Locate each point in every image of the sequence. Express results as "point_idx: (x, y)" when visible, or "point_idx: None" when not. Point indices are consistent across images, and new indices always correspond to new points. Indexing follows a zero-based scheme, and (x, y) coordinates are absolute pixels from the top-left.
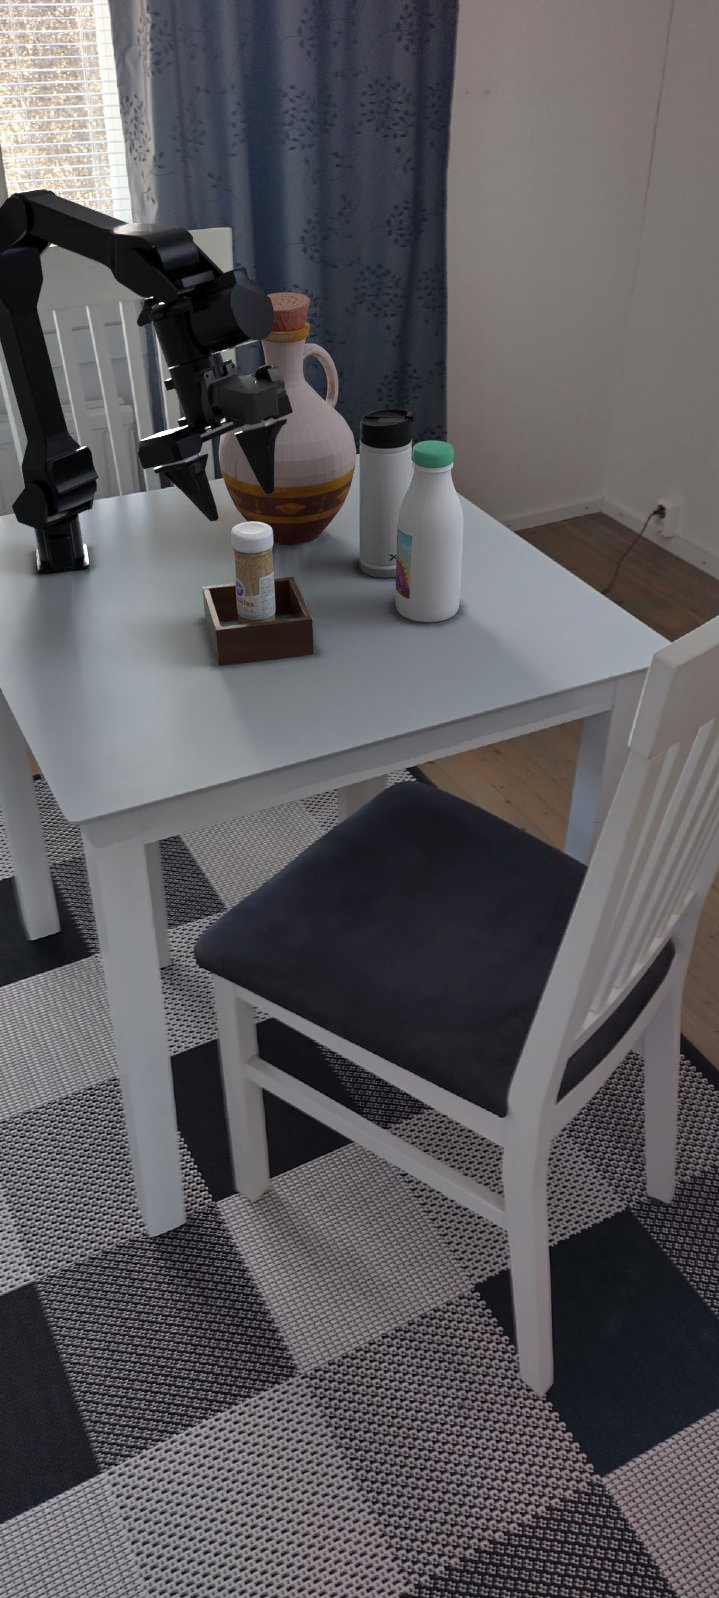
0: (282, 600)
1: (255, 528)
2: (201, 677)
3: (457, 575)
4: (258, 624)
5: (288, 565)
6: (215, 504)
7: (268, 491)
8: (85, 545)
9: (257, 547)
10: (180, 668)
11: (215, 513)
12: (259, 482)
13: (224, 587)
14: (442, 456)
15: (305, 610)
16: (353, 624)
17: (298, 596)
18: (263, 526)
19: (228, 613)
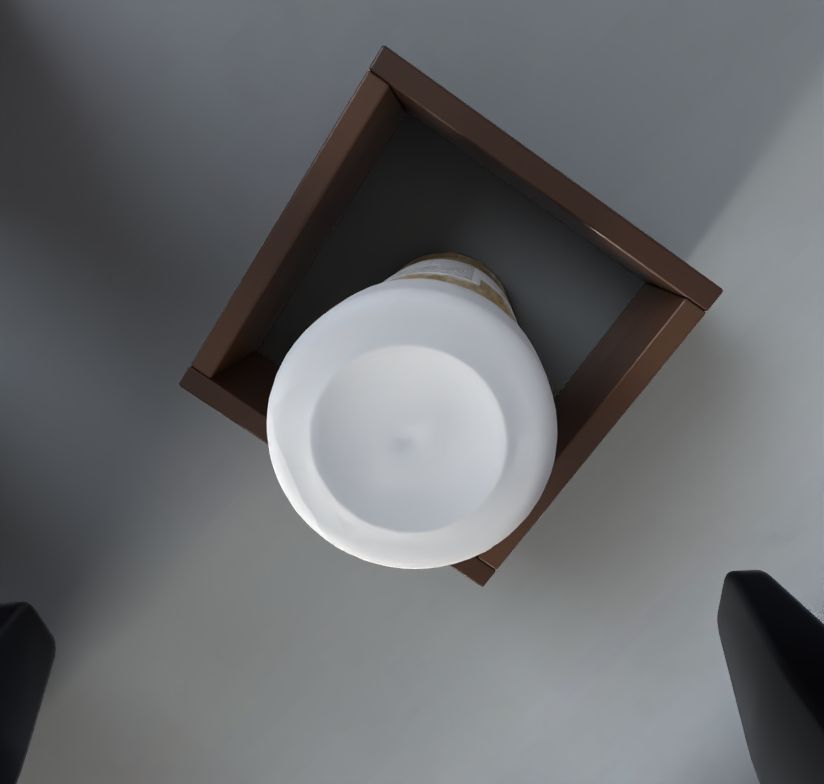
0: (261, 376)
1: (384, 427)
2: (769, 266)
3: None
4: (573, 191)
5: (40, 581)
6: (794, 673)
7: (34, 633)
8: None
9: (485, 302)
10: (765, 364)
11: (791, 605)
12: (21, 755)
13: None
14: None
15: (349, 128)
16: (151, 128)
17: (282, 244)
18: (322, 407)
19: None
